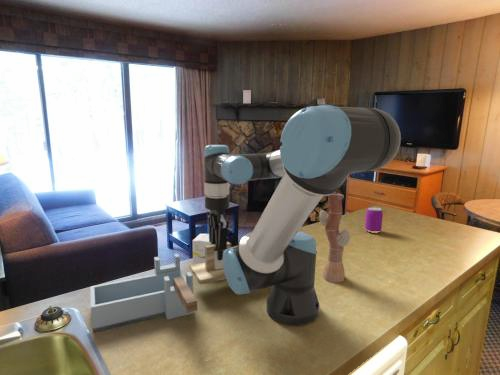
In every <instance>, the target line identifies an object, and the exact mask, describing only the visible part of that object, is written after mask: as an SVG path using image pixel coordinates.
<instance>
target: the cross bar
mask: <svg viewBox="0 0 500 375" xmlns="http://www.w3.org/2000/svg"><path fill="white" fill-rule="evenodd" d="M173 283H174V288H175V290H176V292H177V294H178V296H179V298H180V300H181V302H182V304H183V306H184V308H185V310H186V311H187V313H188V312H192V311H194V312H196V311H198V300H197V298H196V296H195V295H194V292H193V293H192V292H191V290H190V288H189V287H188V285H187V283H186V282H185V280H184V278H183V277H177V278H173Z"/></svg>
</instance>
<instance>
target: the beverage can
mask: <svg viewBox="0 0 500 375" xmlns="http://www.w3.org/2000/svg"><path fill="white" fill-rule="evenodd" d="M365 212H366V214H365V227H364V229H365V228H366V229H367V230H370V231H381V232H382V227H383V226H382V225H383V215H384V213H383V210H382V208H380V207H376V206H369V207H368V209H367V210H366V211H365Z"/></svg>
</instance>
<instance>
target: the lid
mask: <svg viewBox="0 0 500 375" xmlns="http://www.w3.org/2000/svg"><path fill="white" fill-rule="evenodd" d="M215 248H216V244H211V245H205V263H200V264H194V265H193V264H190V265H189V270H190V272H191V274H192V275H193V276H194V277H195V279H196V280H197V282H199V284H200V285H203V284H204V285H205V284H209V283H213V282H219V281H222V280H227V279H226V276H225V273H224V268H222V269H217V270H215V251H214V249H215ZM229 248H231V243H230V242H229V241H227V249H229ZM224 251H225V250H223V253H224Z"/></svg>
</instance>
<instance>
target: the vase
mask: <svg viewBox="0 0 500 375" xmlns="http://www.w3.org/2000/svg"><path fill="white" fill-rule="evenodd" d="M327 199H328V200H327V201H328V212H327V211H326V210H324V209H321V210H320V211H319V215H318V216H319V222H320V224H322V225H323V226H324V227H325V228H324V230H325V236H326V238H327V241H328V243H329V244H328V245H329V246H328V247H329V249H328V250H329V252H328V256H327V257H328V259H327V260H326V263H325V265H324V267H323V271H322V273H323V274H322V275H323V279H324V280H325V281H327V282H331V283H341V282H344V280H345V276H346V275H345V267H344V264H343V253H344V249H345V248H344V247H345V246H347V245H348V244H350V241H351V234H350V231H349V229H347V228H346V229H343V230H342V231H340V228H339V227H340V223H341V219H342V215H343V201H342V199H345V196H344V194H341V193H338V192H335V193H334V194H332V195H328V196H327Z"/></svg>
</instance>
